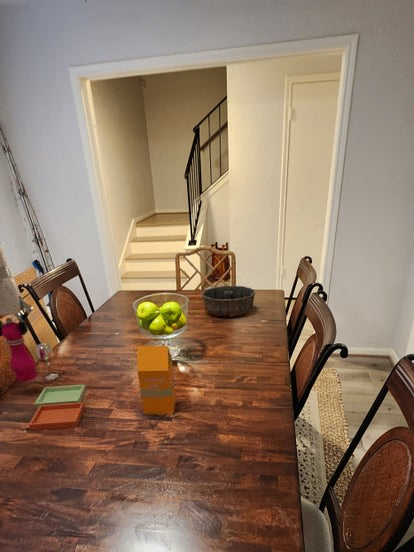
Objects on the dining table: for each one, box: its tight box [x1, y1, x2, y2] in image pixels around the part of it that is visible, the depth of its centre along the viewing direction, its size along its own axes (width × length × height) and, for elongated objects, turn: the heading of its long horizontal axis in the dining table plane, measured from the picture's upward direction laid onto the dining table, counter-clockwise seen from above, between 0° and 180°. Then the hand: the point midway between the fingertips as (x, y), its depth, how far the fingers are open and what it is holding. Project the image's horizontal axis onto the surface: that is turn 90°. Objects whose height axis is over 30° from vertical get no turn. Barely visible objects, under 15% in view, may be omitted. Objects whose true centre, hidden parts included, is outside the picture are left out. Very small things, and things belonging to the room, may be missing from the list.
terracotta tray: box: [28, 401, 86, 431], centre depth 109 cm, size 13×10×2 cm
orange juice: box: [136, 345, 177, 415], centre depth 107 cm, size 8×9×20 cm
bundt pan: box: [201, 285, 256, 318], centre depth 183 cm, size 26×26×10 cm
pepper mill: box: [1, 317, 38, 382], centre depth 116 cm, size 7×7×20 cm
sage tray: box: [34, 384, 87, 410], centre depth 119 cm, size 13×10×2 cm
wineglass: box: [34, 342, 59, 381], centre depth 130 cm, size 6×6×12 cm
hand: (13, 333), depth 113 cm, fingers closed on pepper mill, 6 cm apart
